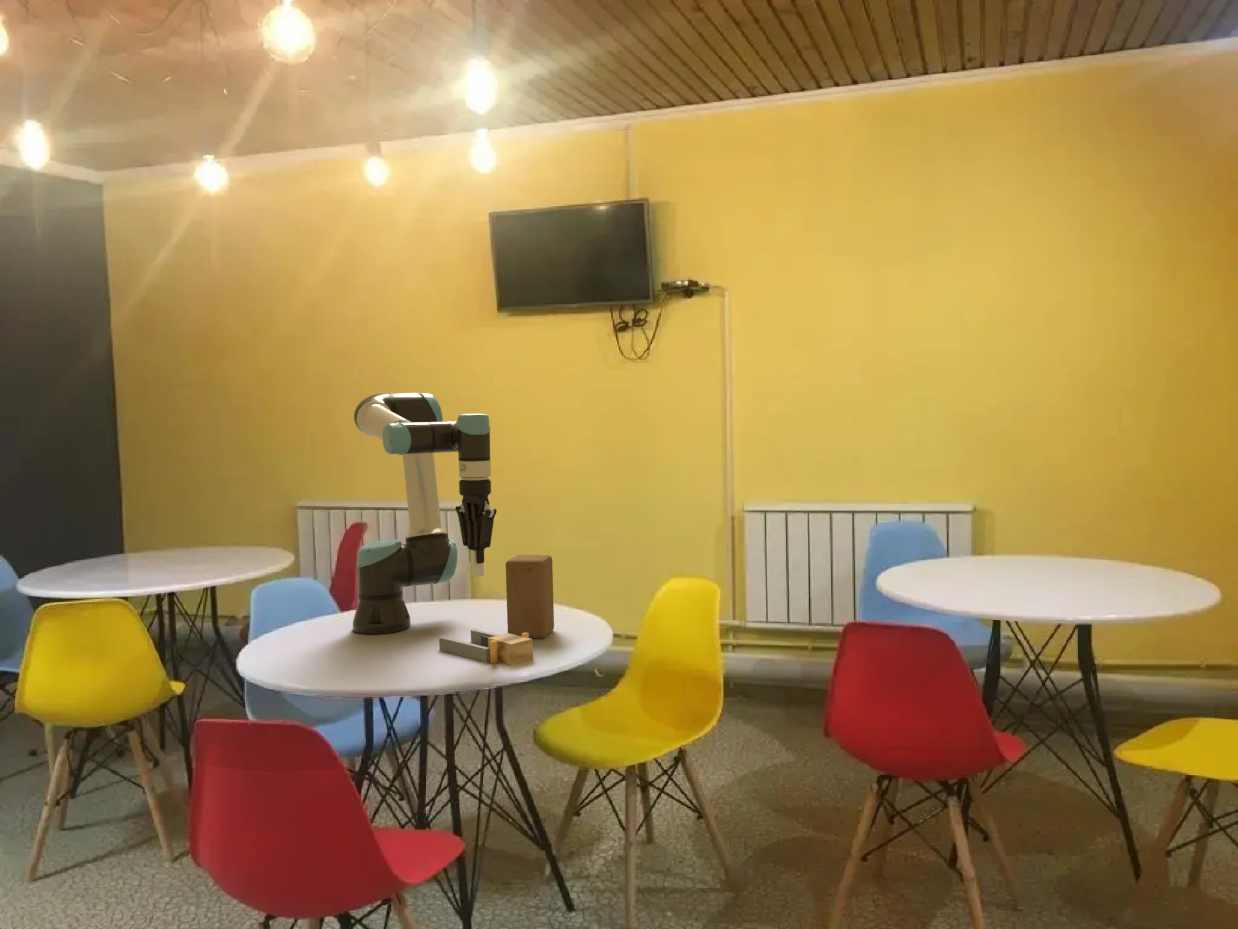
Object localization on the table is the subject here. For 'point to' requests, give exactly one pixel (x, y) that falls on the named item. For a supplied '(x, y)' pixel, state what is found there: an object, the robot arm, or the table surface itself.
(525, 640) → the oak block
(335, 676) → the table surface
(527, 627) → the wooden block
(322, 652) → the table surface
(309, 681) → the table surface
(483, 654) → the chute
